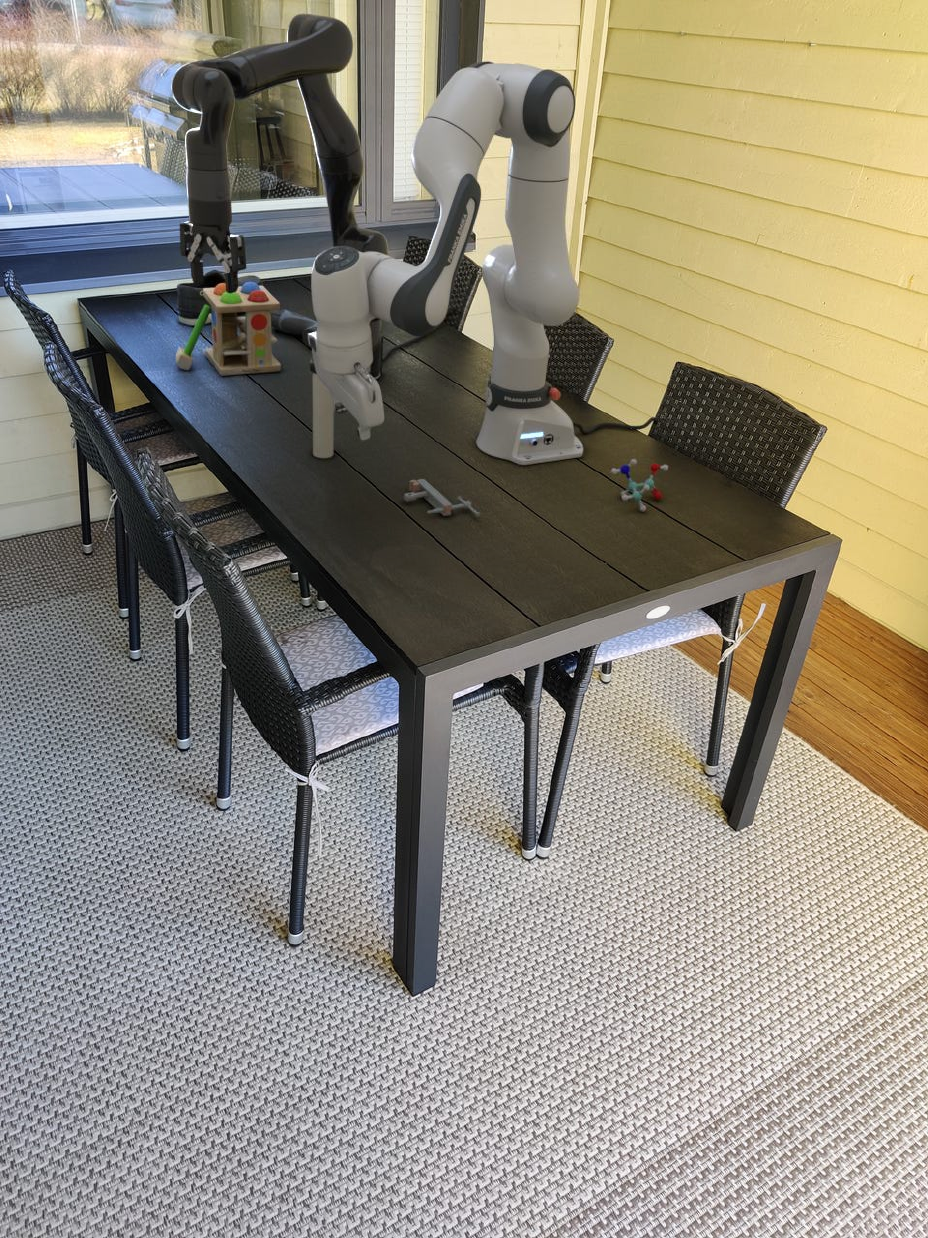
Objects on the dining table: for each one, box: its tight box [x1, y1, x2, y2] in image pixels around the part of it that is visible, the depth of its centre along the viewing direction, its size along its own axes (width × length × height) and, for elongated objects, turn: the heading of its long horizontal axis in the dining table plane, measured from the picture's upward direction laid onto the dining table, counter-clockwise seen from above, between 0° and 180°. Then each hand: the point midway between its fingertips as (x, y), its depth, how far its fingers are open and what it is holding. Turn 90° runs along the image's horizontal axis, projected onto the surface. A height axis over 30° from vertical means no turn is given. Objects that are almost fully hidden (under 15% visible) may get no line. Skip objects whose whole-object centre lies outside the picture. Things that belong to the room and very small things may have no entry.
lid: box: [309, 358, 317, 374], centre depth 185 cm, size 5×5×2 cm
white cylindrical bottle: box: [311, 372, 335, 459], centre depth 190 cm, size 4×4×19 cm
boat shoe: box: [175, 269, 265, 326], centre depth 261 cm, size 13×33×10 cm, turn 147°
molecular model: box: [610, 458, 669, 513], centre depth 187 cm, size 12×10×10 cm
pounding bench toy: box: [174, 282, 282, 377], centre depth 225 cm, size 23×14×18 cm, turn 116°
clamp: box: [403, 478, 481, 518], centre depth 180 cm, size 15×2×10 cm
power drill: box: [271, 308, 317, 349], centre depth 252 cm, size 5×19×20 cm
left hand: (214, 287), depth 183 cm, fingers open, 8 cm apart
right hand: (352, 424), depth 169 cm, fingers open, 8 cm apart
